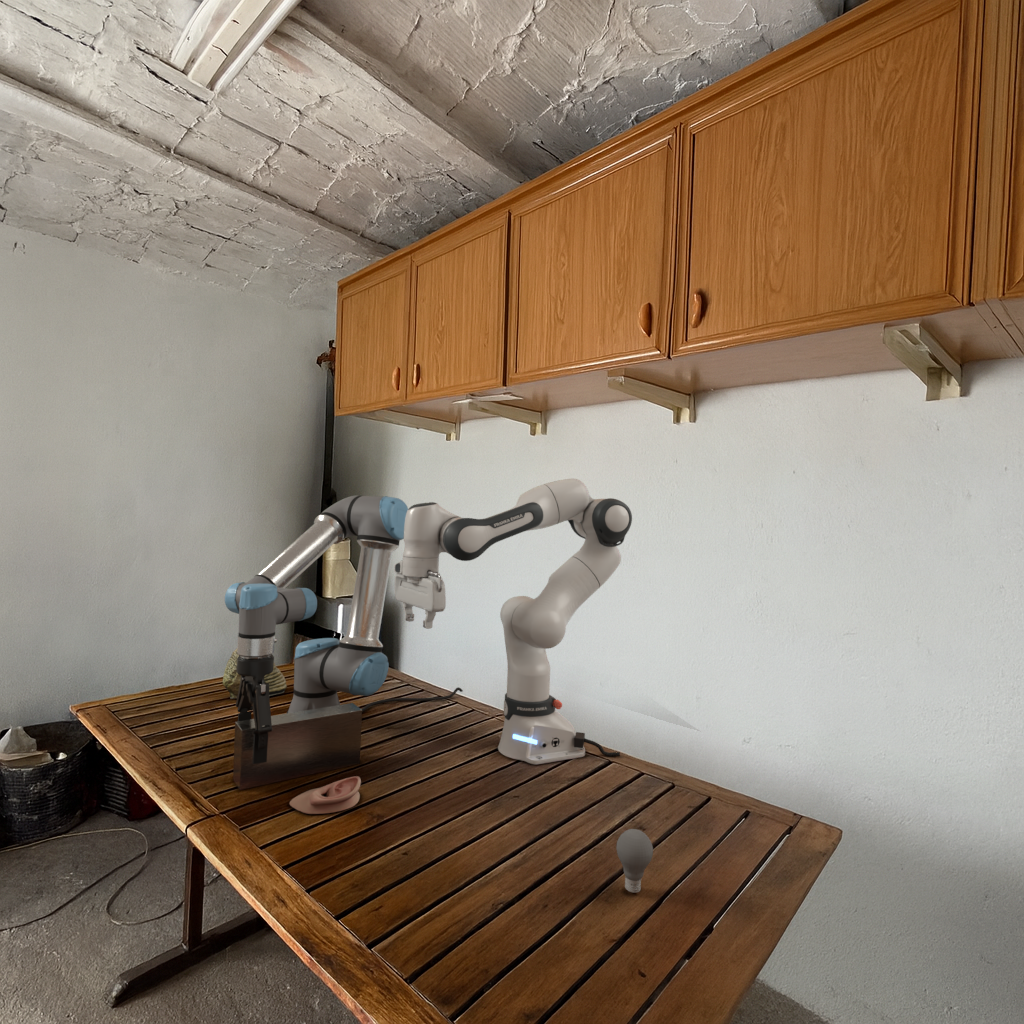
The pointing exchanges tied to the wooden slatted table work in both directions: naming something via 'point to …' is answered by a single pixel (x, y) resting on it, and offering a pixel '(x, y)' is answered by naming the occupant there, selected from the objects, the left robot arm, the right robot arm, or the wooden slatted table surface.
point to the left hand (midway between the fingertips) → (251, 751)
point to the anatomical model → (329, 797)
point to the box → (299, 745)
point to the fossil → (233, 678)
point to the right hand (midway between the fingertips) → (418, 624)
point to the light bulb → (634, 857)
